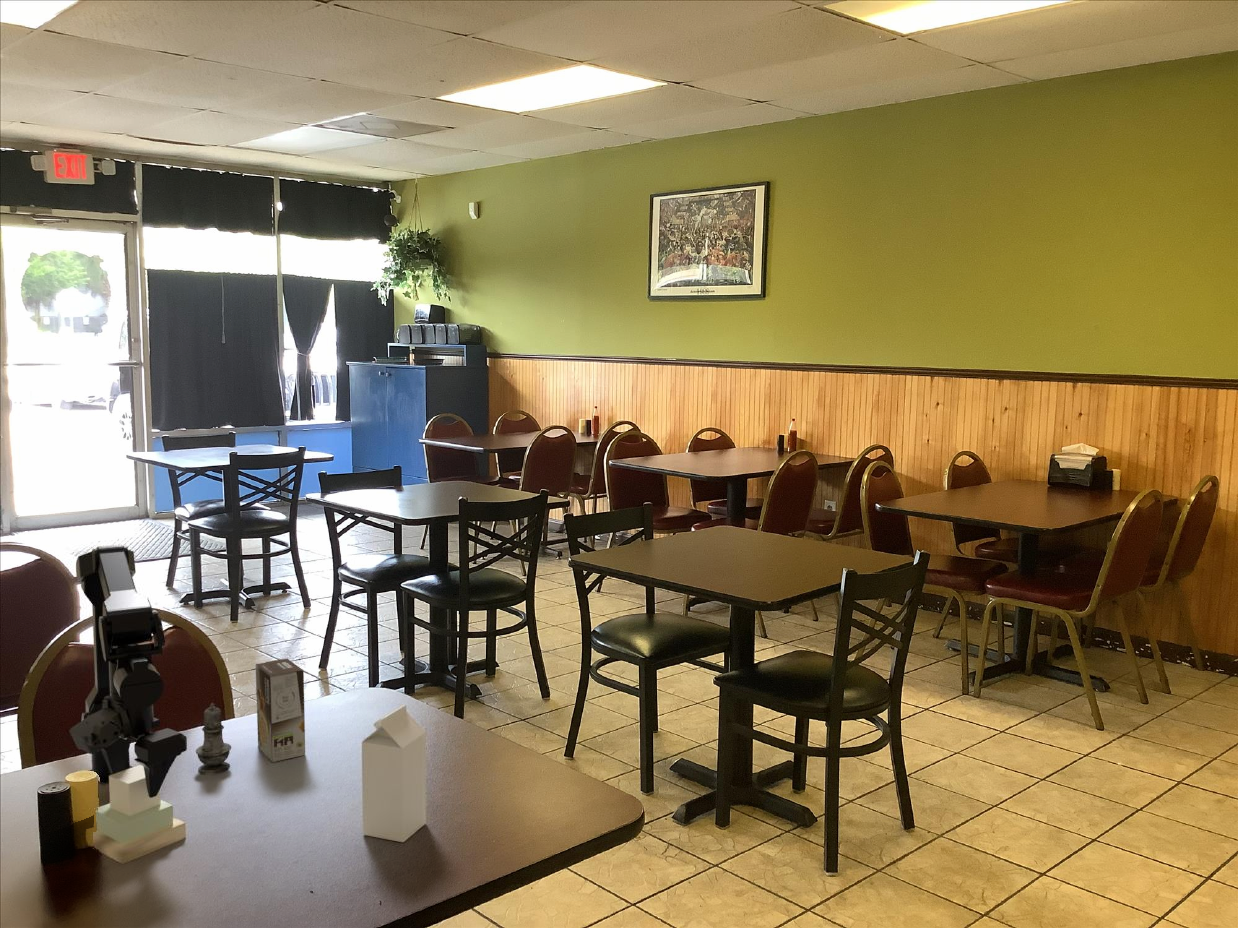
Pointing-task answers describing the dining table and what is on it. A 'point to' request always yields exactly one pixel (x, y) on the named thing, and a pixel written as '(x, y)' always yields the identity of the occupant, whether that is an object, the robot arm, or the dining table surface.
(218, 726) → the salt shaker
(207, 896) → the dining table surface
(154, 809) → the sage slab
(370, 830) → the milk carton
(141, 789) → the cream block
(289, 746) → the coffee box
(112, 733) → the robot arm
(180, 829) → the maple slab
